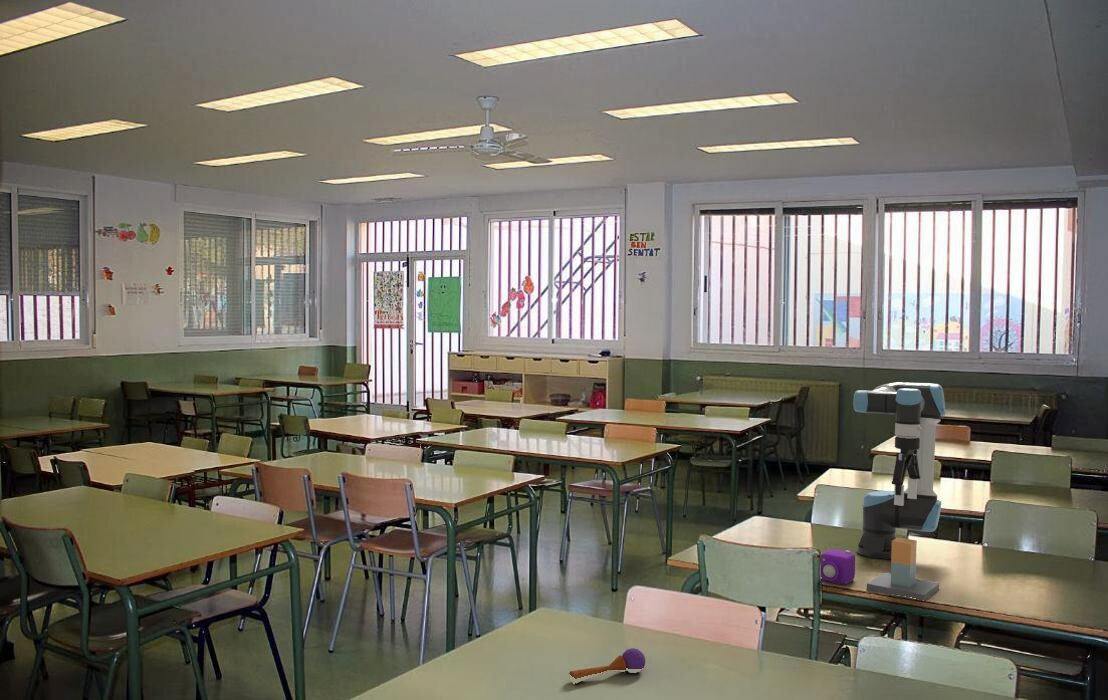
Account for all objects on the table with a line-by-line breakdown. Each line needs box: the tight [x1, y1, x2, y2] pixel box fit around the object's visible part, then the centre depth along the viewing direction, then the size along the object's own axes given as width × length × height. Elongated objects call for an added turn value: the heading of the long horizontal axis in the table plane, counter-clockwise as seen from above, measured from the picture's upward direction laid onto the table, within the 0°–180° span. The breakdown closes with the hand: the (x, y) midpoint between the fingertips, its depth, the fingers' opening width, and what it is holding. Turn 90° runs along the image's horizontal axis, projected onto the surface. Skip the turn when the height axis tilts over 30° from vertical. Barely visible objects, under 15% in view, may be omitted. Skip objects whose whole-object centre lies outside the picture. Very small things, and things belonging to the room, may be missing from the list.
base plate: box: [866, 572, 940, 602], centre depth 291 cm, size 18×16×2 cm
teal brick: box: [890, 561, 917, 587], centre depth 291 cm, size 6×6×7 cm
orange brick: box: [890, 537, 918, 566], centre depth 290 cm, size 6×6×7 cm
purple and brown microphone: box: [568, 647, 646, 679], centre depth 217 cm, size 6×6×20 cm
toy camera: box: [820, 548, 856, 585], centre depth 298 cm, size 11×14×10 cm
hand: (905, 501), depth 290 cm, fingers open, 13 cm apart
